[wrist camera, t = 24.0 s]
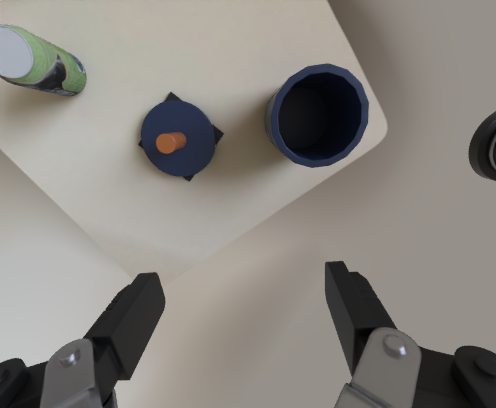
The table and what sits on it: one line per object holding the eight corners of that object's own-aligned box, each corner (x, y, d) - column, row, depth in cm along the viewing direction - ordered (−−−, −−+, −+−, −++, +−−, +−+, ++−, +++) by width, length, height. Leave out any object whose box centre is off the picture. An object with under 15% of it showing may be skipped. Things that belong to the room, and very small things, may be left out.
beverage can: (40, 61, 36) (-57, 33, 24) (83, 41, 35) (3, 3, 24) (64, 104, 38) (-15, 97, 26) (105, 86, 37) (41, 71, 26)
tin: (345, 113, 38) (389, 109, 26) (300, 166, 41) (321, 184, 29) (295, 66, 36) (317, 39, 24) (251, 125, 39) (251, 127, 27)
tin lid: (230, 133, 38) (226, 136, 32) (190, 188, 42) (178, 201, 35) (168, 83, 36) (150, 75, 29) (131, 146, 39) (106, 151, 32)
